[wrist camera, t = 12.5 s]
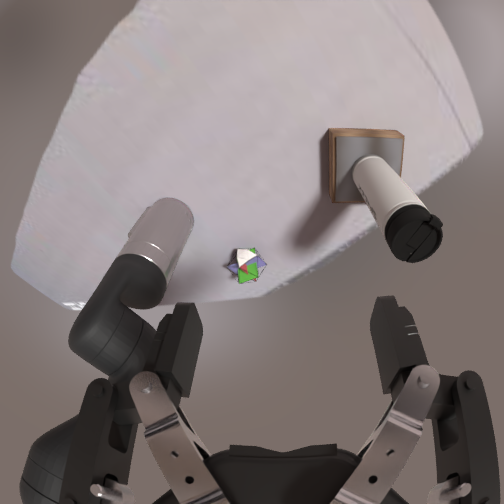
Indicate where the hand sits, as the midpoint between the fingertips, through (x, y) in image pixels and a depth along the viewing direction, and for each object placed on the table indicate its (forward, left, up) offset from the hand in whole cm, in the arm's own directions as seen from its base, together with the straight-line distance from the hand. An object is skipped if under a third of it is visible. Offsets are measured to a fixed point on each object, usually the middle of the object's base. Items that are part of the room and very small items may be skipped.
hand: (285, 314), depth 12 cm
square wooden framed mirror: (+14, -7, -38) cm, 41 cm away
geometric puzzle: (-8, -26, -38) cm, 47 cm away
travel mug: (+14, -7, -34) cm, 38 cm away
